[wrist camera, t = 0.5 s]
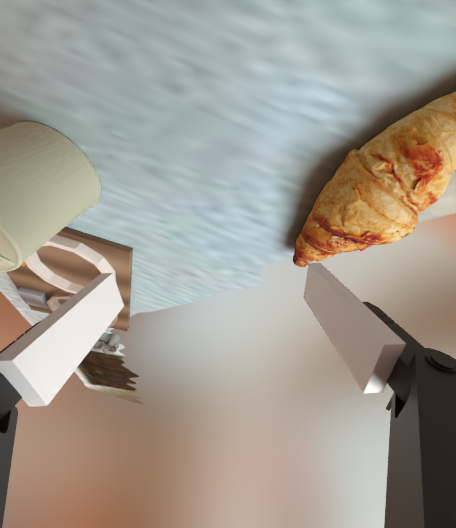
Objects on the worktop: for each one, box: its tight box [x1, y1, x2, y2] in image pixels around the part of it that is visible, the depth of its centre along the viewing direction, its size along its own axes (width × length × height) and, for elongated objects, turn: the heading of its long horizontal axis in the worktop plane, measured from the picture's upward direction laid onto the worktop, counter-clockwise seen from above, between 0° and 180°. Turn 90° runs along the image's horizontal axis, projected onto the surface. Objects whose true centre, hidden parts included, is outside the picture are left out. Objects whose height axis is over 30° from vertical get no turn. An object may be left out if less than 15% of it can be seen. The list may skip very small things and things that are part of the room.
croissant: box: [293, 92, 456, 267], centre depth 19 cm, size 21×10×8 cm, turn 151°
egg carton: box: [91, 332, 121, 354], centre depth 52 cm, size 11×8×4 cm
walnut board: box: [7, 227, 133, 331], centre depth 36 cm, size 29×21×2 cm
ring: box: [21, 235, 116, 294], centre depth 30 cm, size 13×18×2 cm
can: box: [0, 121, 101, 272], centre depth 17 cm, size 9×9×12 cm
